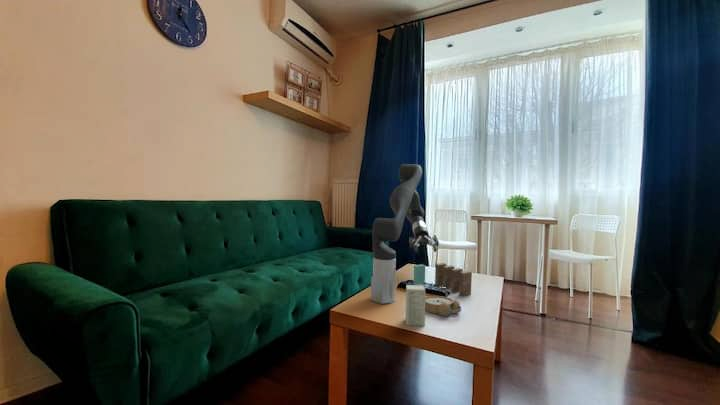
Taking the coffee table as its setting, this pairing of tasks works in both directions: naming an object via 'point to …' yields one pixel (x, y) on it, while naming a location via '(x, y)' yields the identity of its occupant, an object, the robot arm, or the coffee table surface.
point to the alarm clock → (442, 305)
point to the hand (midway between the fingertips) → (426, 251)
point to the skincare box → (415, 305)
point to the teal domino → (419, 274)
